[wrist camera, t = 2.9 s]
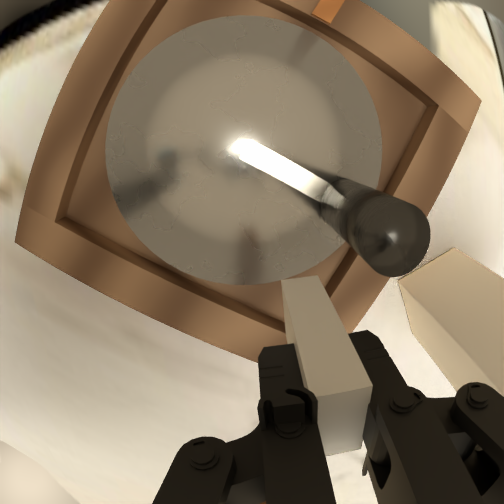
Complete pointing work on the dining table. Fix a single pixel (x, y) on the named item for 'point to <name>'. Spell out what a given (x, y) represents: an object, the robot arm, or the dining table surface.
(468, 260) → the milk
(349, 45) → the board
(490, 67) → the dining table surface
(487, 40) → the dining table surface
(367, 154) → the dial
